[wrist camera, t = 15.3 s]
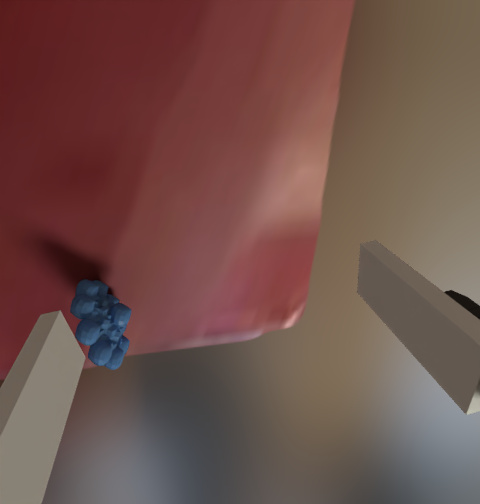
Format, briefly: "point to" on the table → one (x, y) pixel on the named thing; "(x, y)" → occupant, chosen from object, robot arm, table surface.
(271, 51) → the table surface
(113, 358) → the grapes
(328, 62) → the table surface
